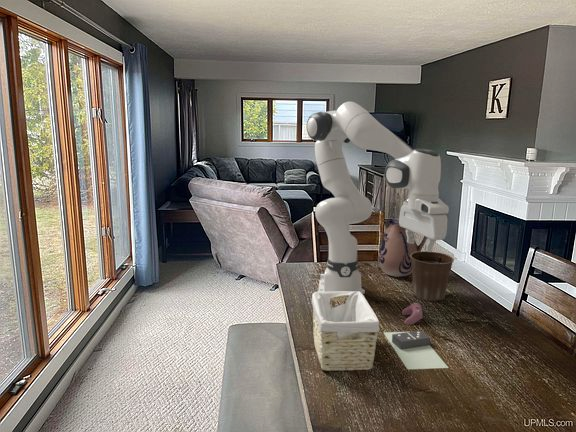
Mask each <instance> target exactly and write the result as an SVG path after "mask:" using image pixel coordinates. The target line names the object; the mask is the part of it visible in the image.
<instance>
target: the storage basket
mask: <svg viewBox="0 0 576 432" xmlns="http://www.w3.org/2000/svg"><path fill="white" fill-rule="evenodd" d="M331 301H332V302H334V301H335V302H338V301H339V302H345V303H343V304H339V305H338V306H335V307H331V306H332V305H331ZM311 305H312V311H313V313H312V324H313V326H312V327H313V341H314V342H313V343H314V347H315V351H316V354H317V358H318V362H319V364H320V368H321V369H322V371H327V372H328V371H333V372H335V371H339V372H340V371H342V372H343V371H344V372H345V371H348V372H349V371H355V370H357V371H362V370H364V371H366V370H369V371H370V370H372V369H373V368H374V367H373V364H374V362H375V361H374V360H375V352H376V348H377V347H376V345H377V340H378V335H379V332H380V321H379V319H378V317H377V315H376V313H375V312H374V309H373V308H372V307H371V305H370V304H369V302H368V300H367V299H366V297H365V295H364V294H362V293H361V292H359V291H355V292H353V291H335V292H318V291H315V292H313V293H312V297H311Z"/></svg>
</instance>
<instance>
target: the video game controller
mask: <svg viewBox="0 0 576 432" xmlns="http://www.w3.org/2000/svg"><path fill="white" fill-rule="evenodd" d="M422 309H423V307H422V305H421V304H419V303H417V302H413V303H412V302H411V304H409V306H407V307H405V308H404V309H402V312H401V313H402V315H403V316H408V317H407V318H405V320H404V322H403V323H404V325H405V326H406V325H408V326H409V325H414V324H416V323H417V322H419V321H420V320H421V319H423V311H422Z"/></svg>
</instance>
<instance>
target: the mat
mask: <svg viewBox="0 0 576 432" xmlns="http://www.w3.org/2000/svg"><path fill="white" fill-rule="evenodd" d="M406 332H407V331H393V332H392V331H389V332H383V335H384V336H385V337H386V339H387V341H388V342H389V344H390V345H391V346H392V348H393V350H394V351H395V353H396V354H397V356H398V358H399V359H400V360H401V362H402V363H403V365H404V366H405V368H406V369H407V370H429V369H430V370H431V369H449V366H448V365H447V364H446V362H444V361H443V359H442V358H441V357H440V356H439V354H438V353H437V352H436V351H435V349H434V348H432V346H431V344H430V345H428V346H422V347H415V348H409V349H402V350H400V349H399V348H398V347H397V346H396V345H395V344H394V343H393V342H392V334H399V333H406Z"/></svg>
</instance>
